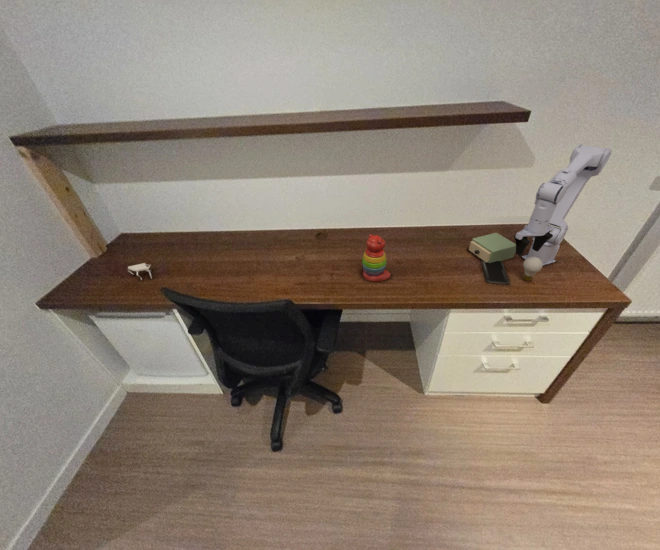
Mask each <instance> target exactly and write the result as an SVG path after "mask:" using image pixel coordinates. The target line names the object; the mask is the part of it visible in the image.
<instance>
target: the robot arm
mask: <svg viewBox="0 0 660 550" xmlns="http://www.w3.org/2000/svg"><path fill="white" fill-rule="evenodd" d="M611 155H612V148H609V147H608V148H607V147H606V148H605V147H599V146H592V145H591V146H590V145H584V144H580V143H579V144H578V145H576V146H575V147H574V149H573V150H572V152H571V154H570V157H569V164H568V165H567V167H566V168H561V169H560V170H559V171H557V173H556V174H555V175H553V177H551V179H550V180H549V181H546V182H542V183H541V185H540V186H538V189H537V191H536V194H535V200H534V207H533V209H532V212H531V214H530V218H529V221H528V223H527V224H525V225H524V226H523V229H522V230H520V231H518V232H516V234H514V235H513V239H514V241H515V242H514V243H515V244H516V252H515V254H516V255H518V256H519V257H521V258H522V259H524V261H525V260H526V259H527V258H529V257H537V258H539V259H540V260H541V261H542V263H543V266H546V265H550V264H553V263H556V260H555V258H556V257H557V254H558V252H559V250H560V244H561V243H562V242H563V240H564V238H565V237H566V235H567V232H568V230H569V225H568V224H567V222H566V221H565V219H566V217H567V216H568V213H569V212H570V211H571V209H572V207H573V206H574V204H575V203H576V201H577V199H578V197H579V196H580V194H581V192H582V191H583V189H584V187H585V186H586V185H587V183H588V182H589V180H590V179H591V178H593V177H596V176H599V175H600V173H601V172H602V171H603V170H604V168H605V166H606V164H608V161H609V159H610V158H611ZM528 237H531V238H532V241H531V240H530V239H529V238H528ZM530 244H531V246H530V248H529V251H528V253H527V254H525V255H523V254H524V252H525V251H526V249H527V248H528V247H529V245H530Z"/></svg>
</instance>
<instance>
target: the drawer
mask: <svg viewBox="0 0 660 550" xmlns="http://www.w3.org/2000/svg"><path fill="white" fill-rule="evenodd" d="M468 251H470V252H471V253H472V254H473V255H474V256H476V257H478V258H479V259H480V260H481V261H482V260H483V261H485V262H488V261H489V258H490V255H491V252H490V251H488V250H487V249H485V248H484V247H482V246H481V245H479V244H478V243H476V242H474V241H472V240H471V241H470V242H469V247H468Z"/></svg>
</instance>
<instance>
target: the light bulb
mask: <svg viewBox="0 0 660 550" xmlns="http://www.w3.org/2000/svg"><path fill="white" fill-rule="evenodd" d="M543 266H544V265H543V263H542V261H541V260H540V259H539V258H537V257H529V258H527V259H526V260H525V259H524V260H523V263H522V267H523V269H524V272H523V273H524V274H523V277H522V278H523V280H524V281H527V282H528V281H531V280H532V278H534V276H535V274H537V273H539V272H540V271H541V270H542V269H543Z"/></svg>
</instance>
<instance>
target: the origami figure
mask: <svg viewBox="0 0 660 550" xmlns="http://www.w3.org/2000/svg"><path fill="white" fill-rule="evenodd" d="M151 266H152V264H148V263H146V262H143V263H138V264H134V265H129V266H127V272H128V273H130V274H131V275H136V276H137V277H138V278H139V279H140V281H143V277H141V276H140V275H139V272H143V271H145V272H148V274H149V277H150V279H153V276H152V273H151V270H150V267H151ZM132 271H133V272H136V274H135V273H133V272H132Z"/></svg>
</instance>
